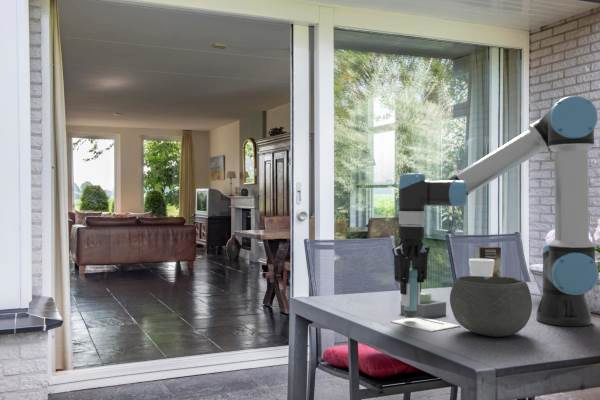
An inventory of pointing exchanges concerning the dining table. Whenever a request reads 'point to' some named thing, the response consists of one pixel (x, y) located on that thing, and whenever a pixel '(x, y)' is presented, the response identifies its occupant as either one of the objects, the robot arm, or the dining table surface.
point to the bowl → (491, 304)
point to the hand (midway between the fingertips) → (410, 304)
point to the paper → (425, 324)
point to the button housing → (430, 309)
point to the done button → (425, 298)
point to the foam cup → (481, 267)
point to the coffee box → (490, 257)
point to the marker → (412, 295)
